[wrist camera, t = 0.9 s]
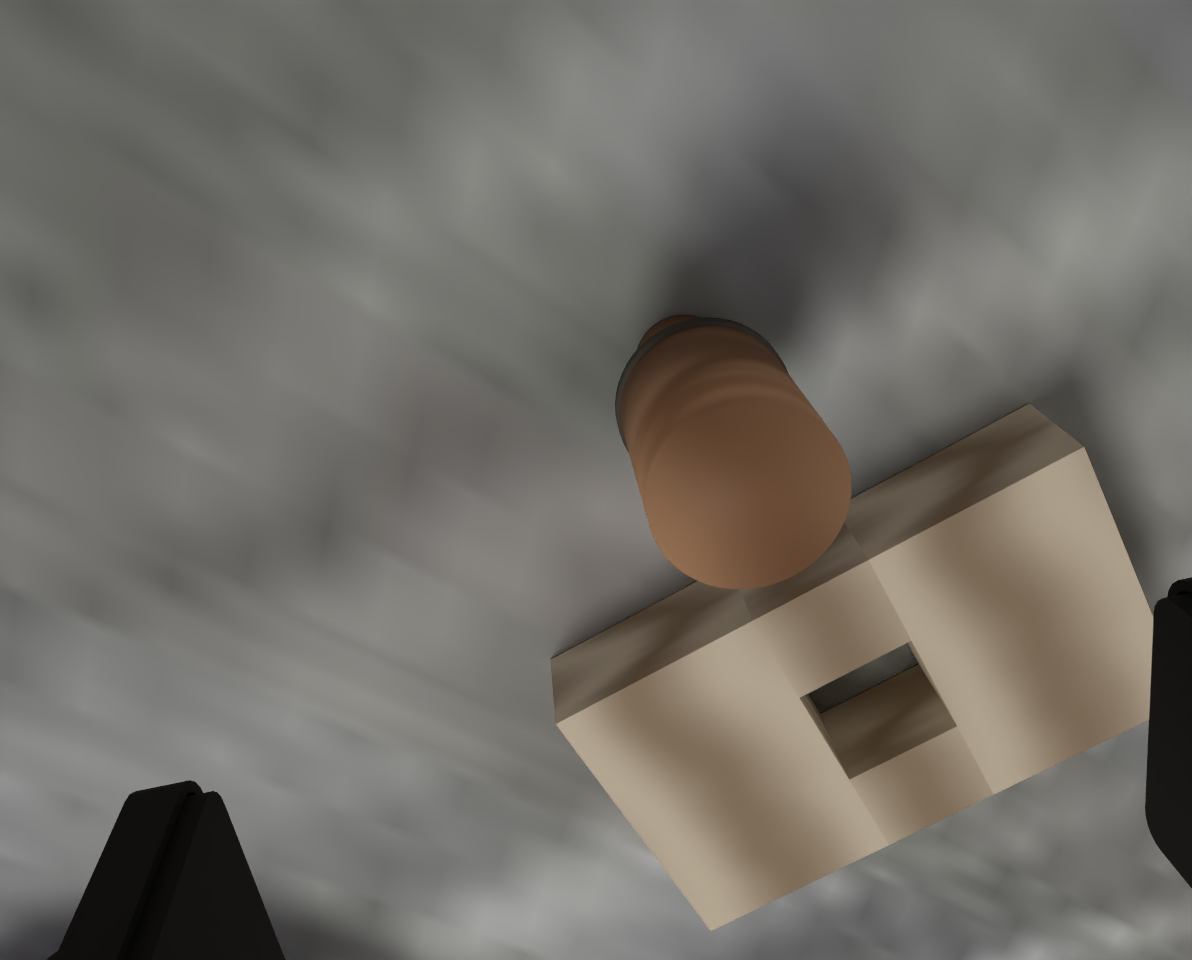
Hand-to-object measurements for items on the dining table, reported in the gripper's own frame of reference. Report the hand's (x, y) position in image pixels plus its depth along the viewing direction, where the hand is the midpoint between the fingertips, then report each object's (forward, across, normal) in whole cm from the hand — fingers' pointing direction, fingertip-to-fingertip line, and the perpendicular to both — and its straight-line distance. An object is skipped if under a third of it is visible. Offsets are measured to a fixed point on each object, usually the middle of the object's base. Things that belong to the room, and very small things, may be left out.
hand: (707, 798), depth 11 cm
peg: (+27, -4, +4) cm, 28 cm away
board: (+27, -9, +18) cm, 34 cm away
